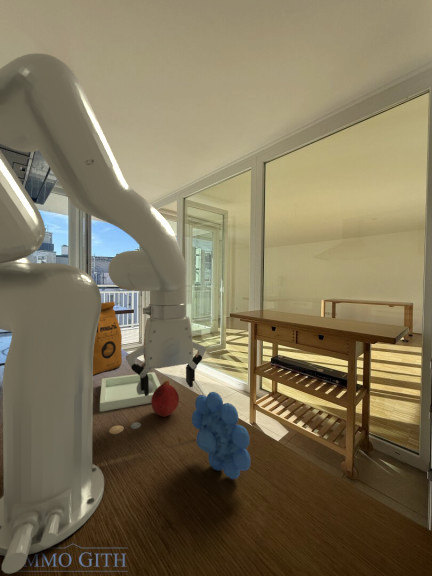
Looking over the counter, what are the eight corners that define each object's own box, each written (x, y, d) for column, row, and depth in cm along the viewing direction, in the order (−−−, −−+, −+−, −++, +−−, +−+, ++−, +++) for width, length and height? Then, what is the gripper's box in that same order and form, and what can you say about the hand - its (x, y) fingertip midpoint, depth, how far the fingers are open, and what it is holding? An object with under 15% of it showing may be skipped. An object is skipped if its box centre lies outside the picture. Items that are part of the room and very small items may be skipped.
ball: (154, 398, 60) (154, 382, 60) (137, 401, 58) (137, 384, 58) (151, 391, 64) (151, 376, 63) (135, 393, 62) (135, 378, 62)
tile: (149, 434, 47) (149, 431, 47) (103, 445, 44) (103, 441, 44) (145, 418, 52) (145, 415, 52) (104, 426, 49) (104, 423, 49)
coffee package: (126, 368, 81) (126, 302, 80) (88, 380, 71) (88, 304, 70) (109, 361, 86) (109, 300, 86) (72, 372, 76) (72, 302, 76)
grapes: (173, 465, 39) (174, 392, 39) (202, 444, 44) (203, 379, 44) (230, 511, 32) (233, 421, 31) (257, 480, 37) (260, 402, 36)
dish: (163, 402, 59) (164, 392, 59) (99, 414, 53) (99, 403, 53) (154, 380, 72) (154, 372, 72) (101, 387, 66) (101, 378, 66)
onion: (161, 428, 49) (162, 389, 49) (145, 416, 53) (146, 380, 52) (183, 416, 53) (184, 380, 53) (167, 407, 57) (168, 373, 57)
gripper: (126, 317, 46) (127, 405, 47) (211, 312, 52) (211, 388, 54) (124, 311, 52) (125, 388, 54) (199, 307, 59) (199, 375, 61)
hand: (168, 388), depth 54 cm, fingers open, 9 cm apart
